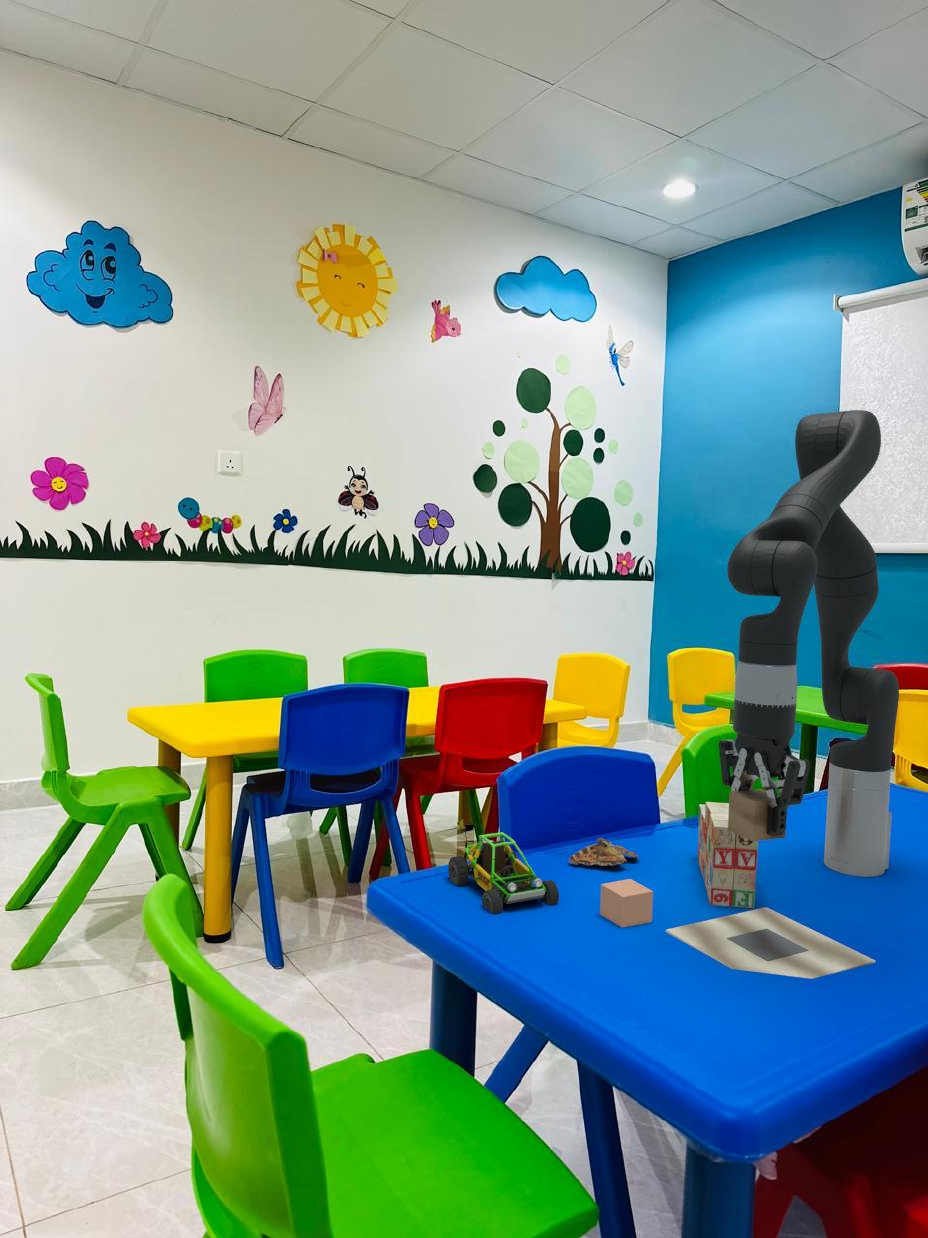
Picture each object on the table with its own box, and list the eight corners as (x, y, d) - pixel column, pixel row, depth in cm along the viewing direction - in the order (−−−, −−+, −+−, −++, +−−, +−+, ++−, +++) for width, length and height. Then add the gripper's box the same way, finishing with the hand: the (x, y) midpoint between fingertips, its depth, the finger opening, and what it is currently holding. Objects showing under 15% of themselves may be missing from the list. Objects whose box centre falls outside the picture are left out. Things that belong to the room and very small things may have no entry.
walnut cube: (759, 826, 119) (760, 789, 118) (785, 837, 114) (787, 799, 114) (727, 829, 117) (729, 791, 116) (753, 841, 112) (755, 802, 112)
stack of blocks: (696, 857, 150) (699, 785, 149) (735, 860, 149) (738, 788, 148) (710, 908, 129) (713, 824, 128) (755, 912, 128) (759, 828, 127)
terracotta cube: (629, 913, 127) (630, 878, 126) (651, 927, 122) (653, 891, 122) (599, 919, 124) (601, 884, 124) (621, 933, 120) (623, 897, 120)
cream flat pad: (765, 914, 127) (766, 906, 127) (875, 968, 111) (875, 960, 111) (665, 937, 119) (665, 929, 119) (768, 999, 103) (768, 990, 103)
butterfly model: (567, 862, 145) (567, 844, 145) (601, 843, 155) (601, 826, 155) (616, 874, 140) (616, 854, 140) (647, 854, 150) (648, 836, 150)
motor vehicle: (493, 923, 123) (495, 854, 122) (441, 878, 139) (442, 817, 138) (559, 910, 128) (561, 844, 127) (501, 869, 144) (503, 809, 143)
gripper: (831, 705, 109) (823, 842, 111) (747, 688, 122) (740, 810, 123) (786, 709, 106) (778, 849, 107) (704, 690, 119) (698, 816, 120)
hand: (758, 827), depth 115 cm, fingers closed on walnut cube, 5 cm apart
